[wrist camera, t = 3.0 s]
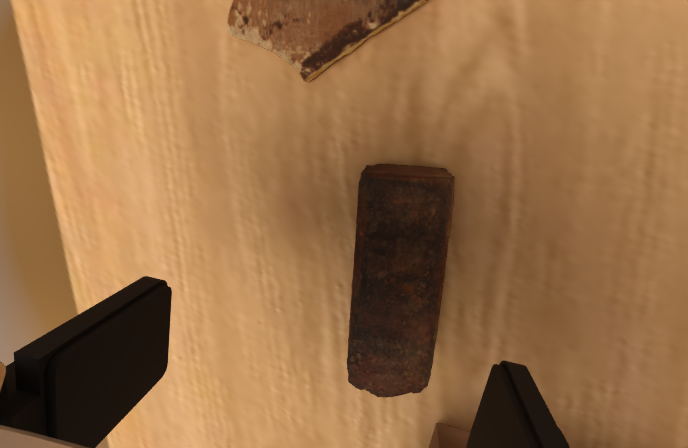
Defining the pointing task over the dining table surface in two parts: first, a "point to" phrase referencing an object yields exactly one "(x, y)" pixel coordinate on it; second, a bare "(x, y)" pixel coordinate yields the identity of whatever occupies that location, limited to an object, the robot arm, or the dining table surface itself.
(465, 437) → the tower base
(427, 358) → the brick
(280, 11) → the shard
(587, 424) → the dining table surface
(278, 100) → the dining table surface
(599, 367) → the dining table surface
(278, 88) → the dining table surface
